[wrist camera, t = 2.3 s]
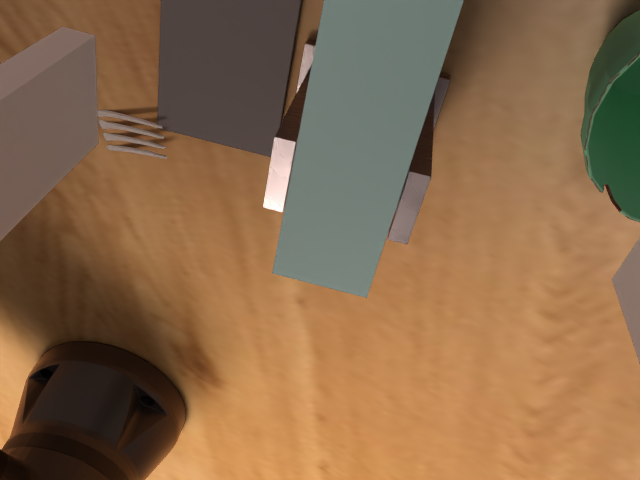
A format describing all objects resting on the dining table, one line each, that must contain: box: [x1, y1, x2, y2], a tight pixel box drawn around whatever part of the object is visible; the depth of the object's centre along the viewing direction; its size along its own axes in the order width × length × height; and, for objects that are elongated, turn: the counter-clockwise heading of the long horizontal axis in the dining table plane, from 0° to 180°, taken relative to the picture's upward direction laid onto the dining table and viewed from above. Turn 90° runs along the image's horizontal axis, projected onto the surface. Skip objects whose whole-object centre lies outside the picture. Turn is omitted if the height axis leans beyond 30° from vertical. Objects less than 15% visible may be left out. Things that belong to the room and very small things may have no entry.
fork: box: [98, 110, 167, 159], centre depth 43 cm, size 3×24×2 cm, turn 92°
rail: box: [272, 0, 464, 298], centre depth 23 cm, size 4×24×6 cm, turn 169°
